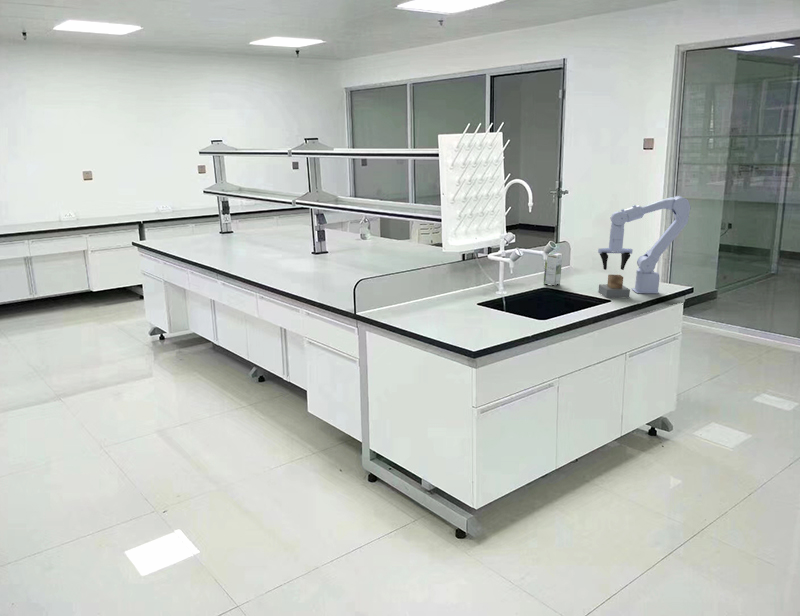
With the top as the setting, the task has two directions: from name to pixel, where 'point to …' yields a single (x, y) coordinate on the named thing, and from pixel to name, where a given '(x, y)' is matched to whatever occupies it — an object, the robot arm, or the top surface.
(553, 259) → the syrup box
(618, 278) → the walnut cube
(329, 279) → the top surface
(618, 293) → the charcoal base block
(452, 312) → the top surface
